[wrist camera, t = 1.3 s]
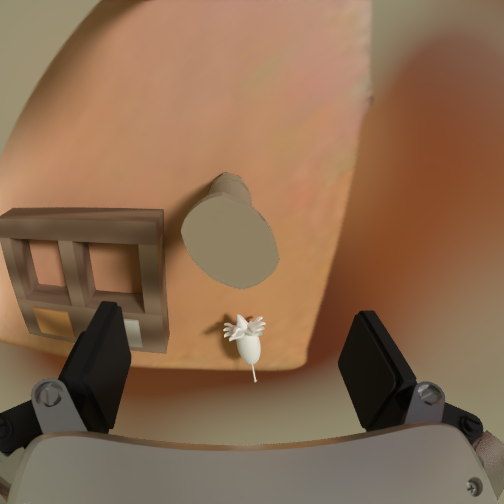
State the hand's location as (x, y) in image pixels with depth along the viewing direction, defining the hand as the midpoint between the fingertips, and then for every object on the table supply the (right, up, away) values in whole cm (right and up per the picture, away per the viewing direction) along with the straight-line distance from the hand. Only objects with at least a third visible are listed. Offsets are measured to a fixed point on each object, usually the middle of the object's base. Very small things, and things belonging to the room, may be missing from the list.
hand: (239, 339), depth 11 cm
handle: (-2, +10, +20) cm, 23 cm away
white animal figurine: (0, -9, +30) cm, 31 cm away
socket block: (-21, +1, +23) cm, 31 cm away
